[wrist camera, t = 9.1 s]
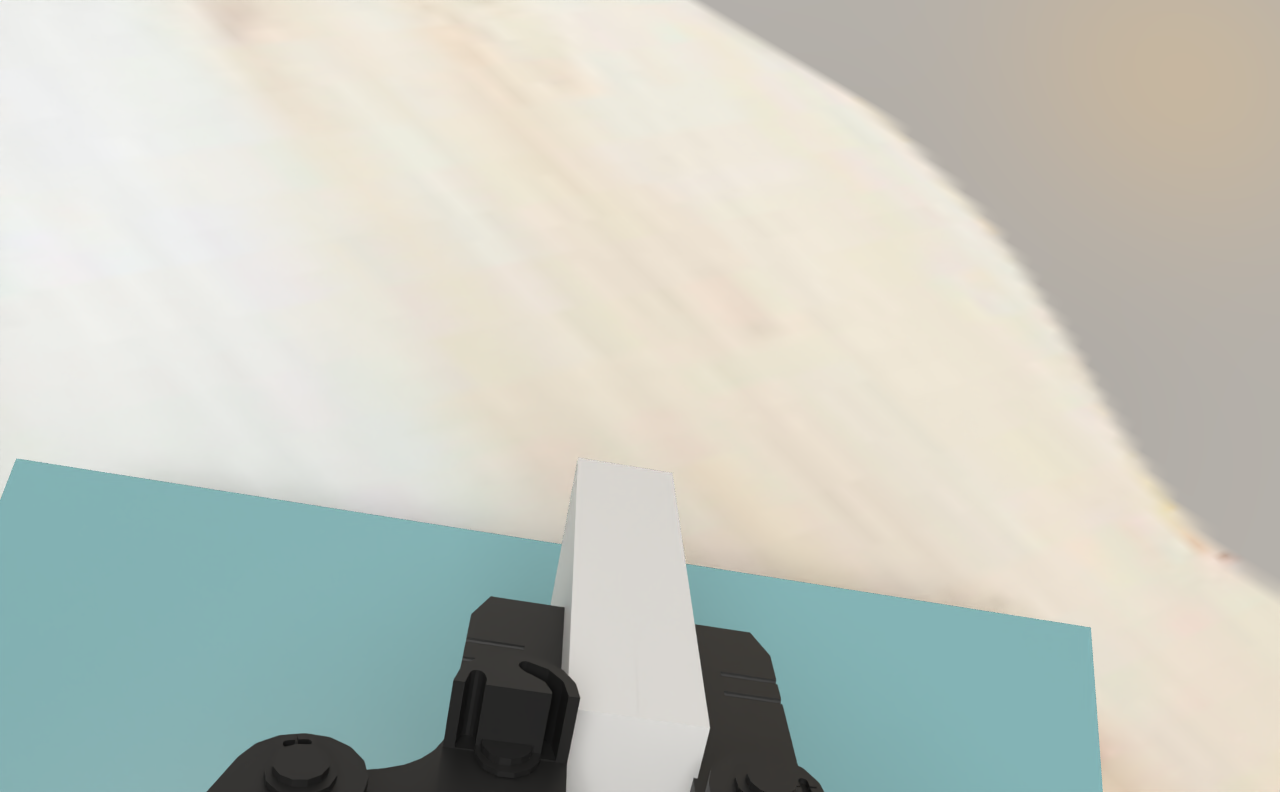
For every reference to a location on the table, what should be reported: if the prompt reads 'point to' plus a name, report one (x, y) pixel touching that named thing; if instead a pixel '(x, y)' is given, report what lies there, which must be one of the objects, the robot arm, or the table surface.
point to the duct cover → (449, 647)
